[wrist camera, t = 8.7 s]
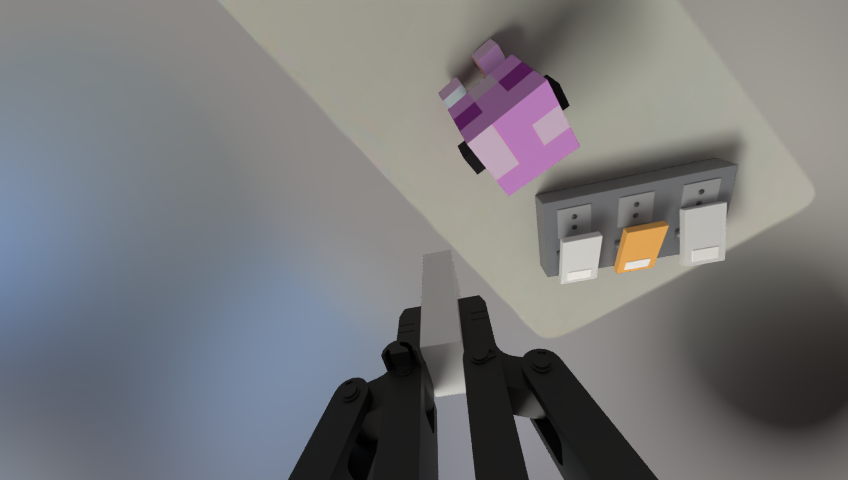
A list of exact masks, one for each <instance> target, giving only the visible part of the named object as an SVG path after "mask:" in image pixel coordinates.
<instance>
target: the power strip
mask: <svg viewBox="0 0 848 480" xmlns="http://www.w3.org/2000/svg"><path fill="white" fill-rule="evenodd" d="M737 167H738V165H737V164H734V163H731V162H727V161H724V160H721V159H717V158H714V159H709V160H704V161H700V162H695V163H690V164H685V165H680V166H675V167H670V168H666V169H661V170H656V171H651V172H646V173H641V174H636V175H632V176H627V177H622V178H617V179H612V180H607V181H602V182H597V183H593V184H588V185H583V186H578V187H573V188H568V189H563V190H559V191H554V192H549V193H544V194H539V195H535V199H536V212H537V225H538V238H539V251H540V264H541V267H542V268H543V270H544V272H545V273H546V275H547V277H551V276H557V275H559V263H560V240H561V238H566V237H571V236H576V235H582V234H587V233H592V232H597V231H599V232H600V233H601V234H602V236H603V237H602V243H601V250H600V257H599V264H598V268H603V267H608V266H614V265H615V261H616V257H617V253H618V249H619V245H620V241H621V237H622V233H623V229H624V228H627V227H633V226H638V225H643V224H649V223H654V222H659V221H665V222H666V223H667V224H668V225H669V227H668V229H667V232H666V235H665V237H664V240H663V243H662V245H661V248H660V251H659V253H658V256H657V258H660V257H665V256H671V255H677V254H680V209H682V208H687V207H693V206H698V205H703V204H708V203H714V202H719V201H722V202H727V213H728V209H729V204H730V199H731V195H732V190H733V186H734V181H735V176H736V172H737ZM727 213H726V218H727Z"/></svg>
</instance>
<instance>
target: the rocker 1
mask: <svg viewBox="0 0 848 480" xmlns="http://www.w3.org/2000/svg"><path fill="white" fill-rule="evenodd" d="M602 237H603V236H602V234H601V233H600V232H599V231H597V232H592V233H587V234H582V235H576V236H571V237H566V238H561V240H560V263H559V281H560V283H561V284H565V283H571V282H577V281H583V280H588V279H594V278H596V277H597V271H598V264H599V257H600V250H601V243H602Z"/></svg>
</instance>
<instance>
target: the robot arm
mask: <svg viewBox="0 0 848 480" xmlns="http://www.w3.org/2000/svg"><path fill="white" fill-rule="evenodd" d="M422 276H423V277H422V303H421V306H420V307H414V308H408V309H405V310H404V311H403V313H402V314H401V316H400V318H399V327H398V335H397V341H394V342H392V343H390V344H389V345H387V347H386V348H385V349H384V350H383V353H382V355H381V356H382V359H383V361H384V364H385V366H386V369H387V371H388V372H386V373H385V374H384V375H382V376H381V377H379V378H377V379H374V380H372V381H370V382H368V383H367V382H366V381H365V380H364V379H362V378H351V379H349V380H347V381H345V382H344V383H342V384H341V385H340V386H339V387H338V389H337V390H336V391H335V393H334V395H333V397H332V398H331V400H330V402H329V404H328V406H327V408H326V410H325V412H324V414H323V415H322V417H321V419H320V421H319V423H318V425H317V427H316V428H315V430H314V432H313V434H312V436H311V438H310V440H309V442H308V443H307V445H306V447H305V449H304V451H303V453H302V455H301V456H300V459H299V460H298V462H297V464H296V466H295V468H294V470H293V472H292V473H291V475H290V477H289V479H288V480H438V444H437V409H436V406H435V402H434V392H435V395H436V397H439V396H446V395H453V394H460V393H466V396H467V405H468V414H469V423H470V433H471V442H472V451H473V460H474V469H475V478H476V480H529V478H528V474H527V470H526V466H525V461H524V457H523V453H522V449H521V445H520V441H519V437H518V433H517V428H516V424H515V420H514V416H513V415H517V416H523V417H528V418H530V420H531V422H532V424H533V425H534V427H535V429H536V431H537V432H538V434H539V436H540V438H541V440H542V441H543V443H544V445H545V446H546V449H547V450H548V452H549V454H550V455H551V457H552V459H553V461H554V463H555V464H556V466H557V468H558V470H559V471H560V473H561V475H562V477H563V478H564V480H658V479H657V477H656V476H655V475H654V474H653V472H652V471H651V470H650V469H649V468H648V466H647V465H646V464H645V463H644V461H643V460H642V459H641V458H640V456H639V455H638V454H637V453H636V451H635V450H634V449H633V448H632V447H631V445H630V444H629V443H628V442H627V440H626V439H625V438H624V437H623V435H622V434H621V433H620V432H619V431H618V429H617V428H616V427H615V425H614V424H613V423H612V422H611V420H610V419H609V418H608V417H607V416H606V414H605V413H604V412H603V411H602V409H601V408H600V407H599V406H598V405H597V403H596V402H595V401H594V400H593V398H592V397H591V396H590V395H589V393H588V392H587V391H586V390H585V388H584V387H583V386H582V385H581V383H580V382H579V381H578V380H577V378H576V377H575V376H574V375H573V373H572V372H571V371H570V370H569V369H568V367H567V366H566V365H565V364H564V362H563V361H562V360H561V359H560V357H558V356H557V355H556V354H555V353H554V352H551V351H549V350H546V349H534V350H531V351H529V352H527V353H526V354H525V355H524V356H523V357H517V356H511V355H508V354H505V353H503V352H502V351H500V350H499V348H498V347H497V346H496V343H495V340H494V335H493V331H492V327H491V323H490V319H489V315H488V311H487V307H486V303H485V301H484V300H483V299H482V298H481V297H480V296H479V295H478V296H472V297H467V298H461V296H460V289H459V285H458V281H457V276H456V272H455V267H454V263H453V258H452V254H451V250H447V251H442V252H437V253H432V254H427V255H423V275H422Z"/></svg>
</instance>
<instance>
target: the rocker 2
mask: <svg viewBox="0 0 848 480" xmlns="http://www.w3.org/2000/svg"><path fill="white" fill-rule="evenodd" d="M668 227H669V225H668V224H667V223H666V222H665V221H659V222H654V223H649V224H643V225H638V226H633V227H627V228H624V229H623V233H622V237H621V241H620V245H619V249H618V253H617V257H616V261H615V265H614V270H615V271H616V273H623V272H628V271H634V270H640V269H646V268H652V267H654V264H655V261H656V259H657V256H658V253H659V251H660V248H661V245H662V243H663V240H664V237H665V235H666V232H667V229H668Z"/></svg>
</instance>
